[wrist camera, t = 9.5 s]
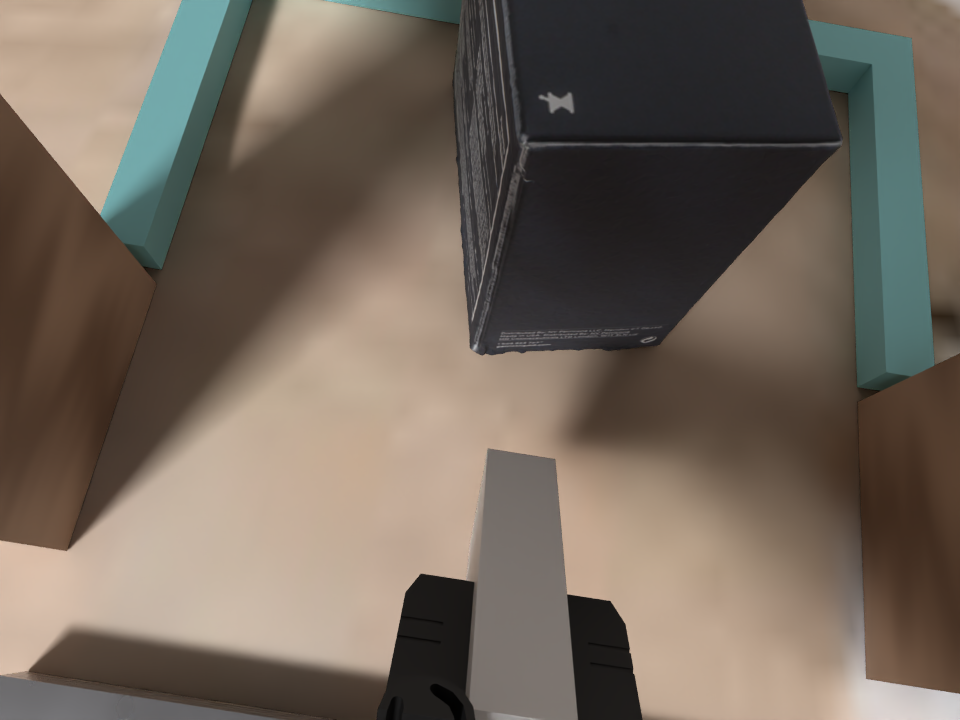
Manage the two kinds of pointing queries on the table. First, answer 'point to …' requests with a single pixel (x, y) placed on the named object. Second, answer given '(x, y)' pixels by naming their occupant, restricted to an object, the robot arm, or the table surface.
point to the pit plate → (113, 702)
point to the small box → (624, 158)
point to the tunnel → (119, 319)
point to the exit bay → (225, 5)
